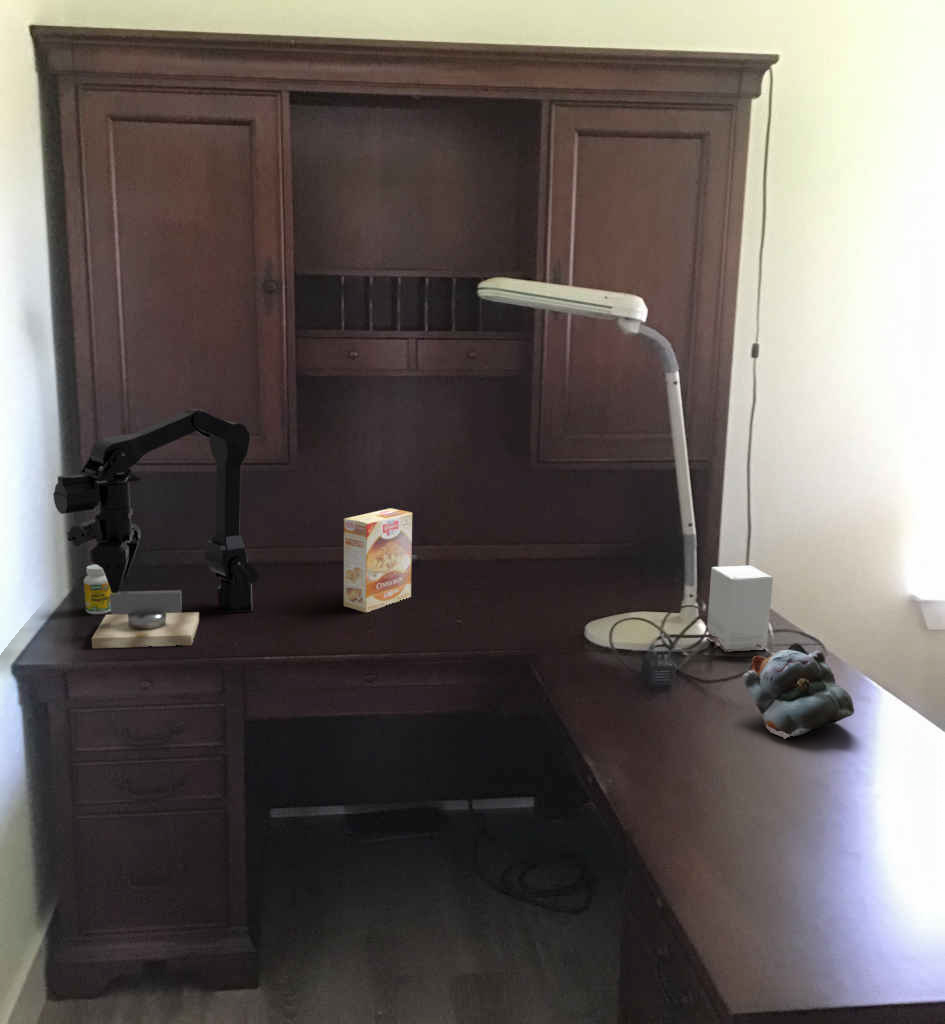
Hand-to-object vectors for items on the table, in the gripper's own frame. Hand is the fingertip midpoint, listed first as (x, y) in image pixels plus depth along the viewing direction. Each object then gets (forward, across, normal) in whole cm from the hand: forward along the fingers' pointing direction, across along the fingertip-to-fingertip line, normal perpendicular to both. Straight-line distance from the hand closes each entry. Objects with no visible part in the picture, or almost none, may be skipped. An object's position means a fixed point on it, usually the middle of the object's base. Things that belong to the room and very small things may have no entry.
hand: (119, 585), depth 194 cm
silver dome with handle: (+8, 0, +5) cm, 9 cm away
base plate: (+10, 0, +5) cm, 11 cm away
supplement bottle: (+10, -16, -7) cm, 20 cm away
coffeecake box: (+10, -17, +51) cm, 55 cm away
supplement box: (+11, +17, +119) cm, 121 cm away
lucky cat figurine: (+10, +54, +112) cm, 125 cm away
